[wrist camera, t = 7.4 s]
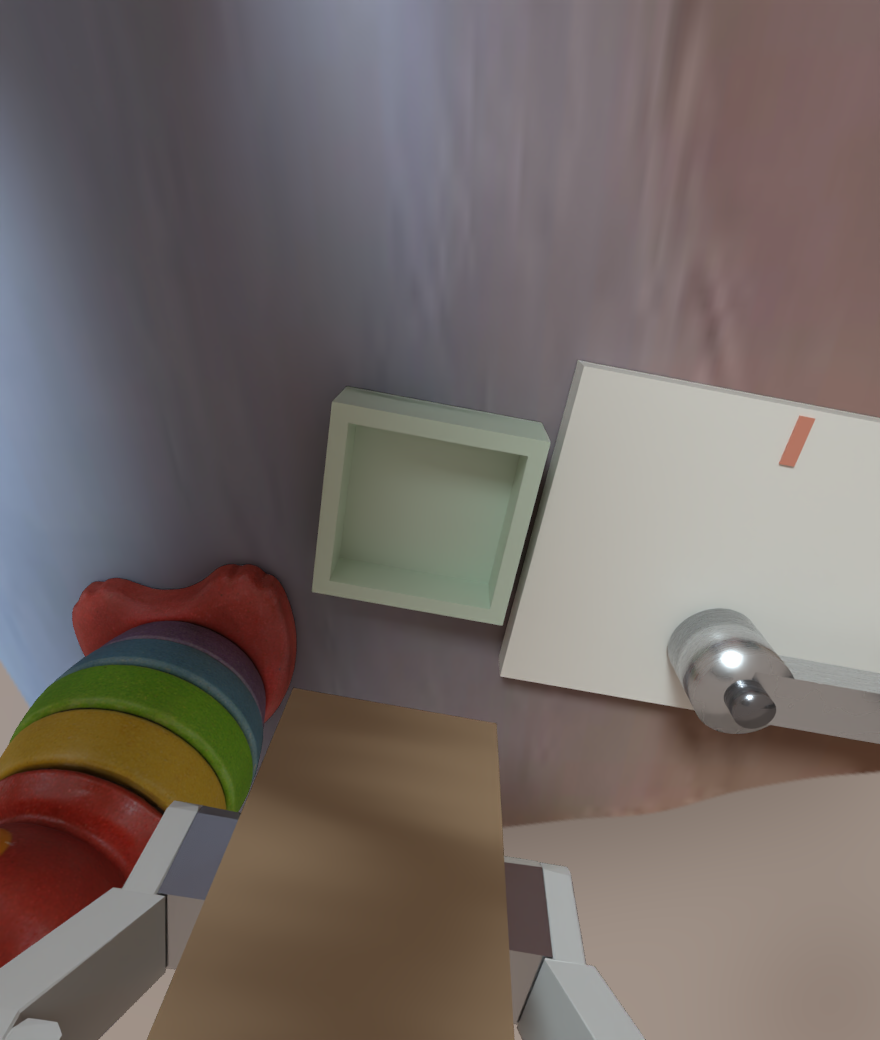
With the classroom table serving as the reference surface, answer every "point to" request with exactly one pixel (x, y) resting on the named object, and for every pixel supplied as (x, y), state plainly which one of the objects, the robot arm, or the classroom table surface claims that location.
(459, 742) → the block
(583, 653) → the crank plate
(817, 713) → the crank
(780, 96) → the classroom table surface
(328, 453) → the tray
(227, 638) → the stacking bear
